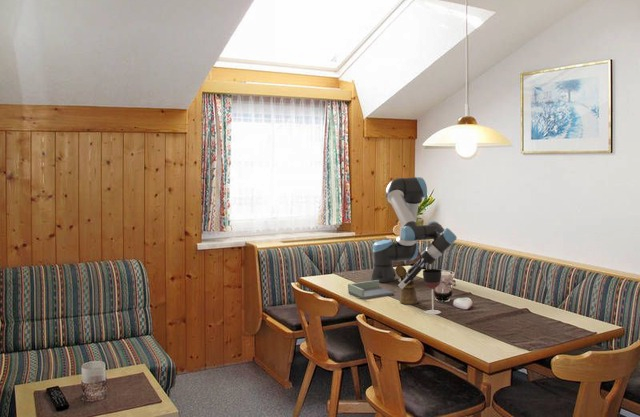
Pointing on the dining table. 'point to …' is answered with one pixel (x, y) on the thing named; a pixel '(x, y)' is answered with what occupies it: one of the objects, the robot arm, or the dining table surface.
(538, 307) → the dining table surface
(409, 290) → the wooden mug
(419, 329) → the dining table surface
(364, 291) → the corner bay
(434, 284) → the wineglass
